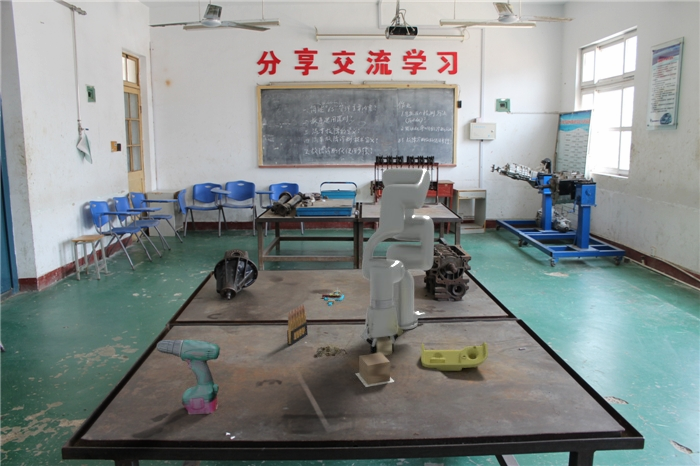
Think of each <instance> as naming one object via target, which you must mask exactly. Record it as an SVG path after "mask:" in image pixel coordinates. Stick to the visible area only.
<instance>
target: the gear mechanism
mask: <svg viewBox="0 0 700 466" xmlns="http://www.w3.org/2000/svg"><path fill="white" fill-rule="evenodd" d="M321 297H322V298H324V301H327V304H328V306H332V305H333V304H335V303H336V301H338V302H339V301H343V299H344V297H345V295H344V294H341V290H339V288H338V287H336V290H334V291H333V293H329V294H322V295H321Z"/></svg>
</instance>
